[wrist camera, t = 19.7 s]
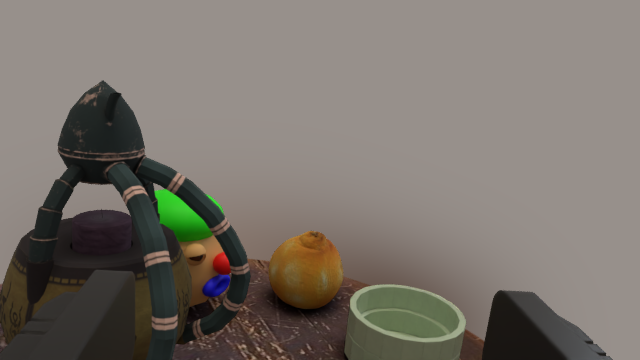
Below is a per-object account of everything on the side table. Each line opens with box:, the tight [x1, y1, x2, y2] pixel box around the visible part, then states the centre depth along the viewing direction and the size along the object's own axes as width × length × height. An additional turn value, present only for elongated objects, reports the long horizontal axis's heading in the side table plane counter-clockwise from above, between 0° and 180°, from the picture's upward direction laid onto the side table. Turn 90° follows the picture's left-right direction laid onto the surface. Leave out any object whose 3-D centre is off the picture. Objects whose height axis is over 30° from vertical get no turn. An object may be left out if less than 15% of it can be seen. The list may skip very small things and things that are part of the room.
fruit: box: [269, 231, 343, 309], centre depth 56 cm, size 8×8×8 cm
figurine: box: [154, 189, 231, 307], centre depth 51 cm, size 11×10×12 cm
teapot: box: [0, 81, 251, 360], centre depth 36 cm, size 12×25×23 cm, turn 71°
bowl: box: [344, 284, 466, 360], centre depth 46 cm, size 10×10×5 cm
